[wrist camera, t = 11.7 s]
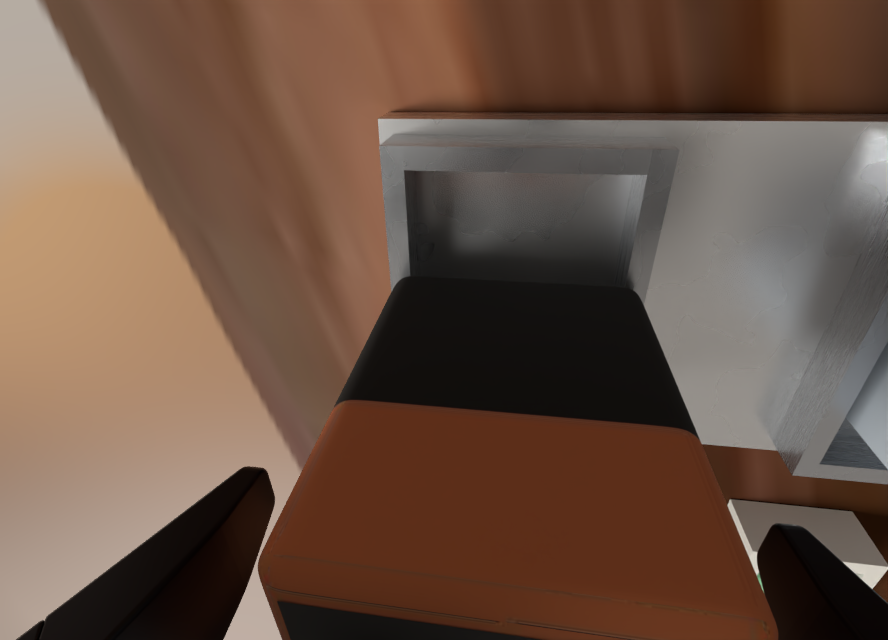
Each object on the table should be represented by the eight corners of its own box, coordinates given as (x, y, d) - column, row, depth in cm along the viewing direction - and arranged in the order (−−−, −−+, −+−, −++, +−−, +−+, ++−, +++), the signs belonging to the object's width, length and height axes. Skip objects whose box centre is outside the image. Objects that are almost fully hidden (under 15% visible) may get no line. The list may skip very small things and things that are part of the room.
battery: (396, 268, 14) (197, 644, 6) (641, 280, 13) (853, 750, 5) (405, 386, 16) (273, 779, 8) (614, 403, 15) (722, 868, 7)
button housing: (809, 577, 22) (837, 632, 20) (701, 564, 23) (718, 616, 21) (852, 511, 20) (889, 567, 18) (730, 499, 20) (752, 551, 18)
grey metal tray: (982, 444, 17) (1052, 508, 15) (408, 397, 20) (393, 445, 18) (1242, 115, 12) (1418, 137, 9) (388, 112, 14) (362, 129, 12)
